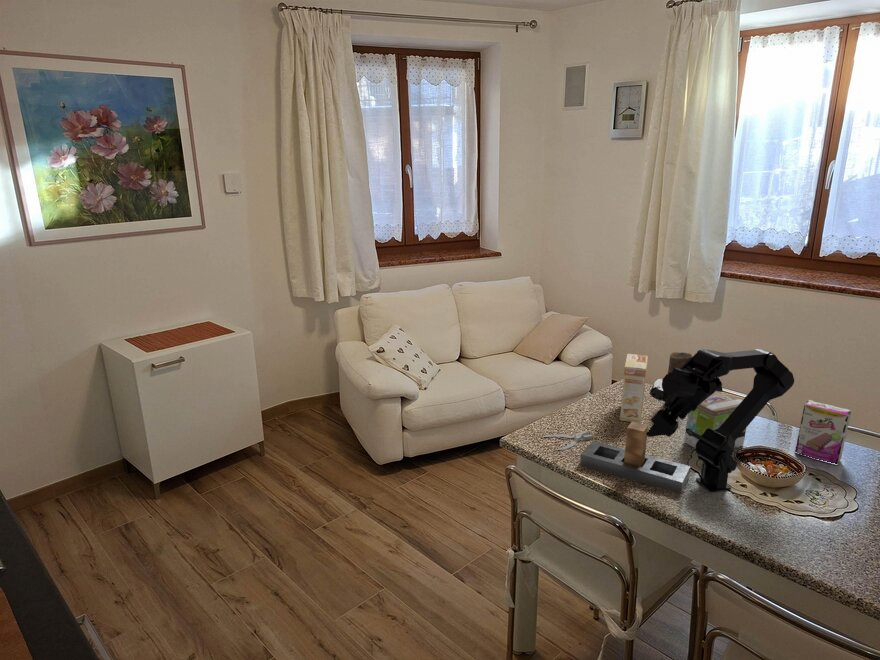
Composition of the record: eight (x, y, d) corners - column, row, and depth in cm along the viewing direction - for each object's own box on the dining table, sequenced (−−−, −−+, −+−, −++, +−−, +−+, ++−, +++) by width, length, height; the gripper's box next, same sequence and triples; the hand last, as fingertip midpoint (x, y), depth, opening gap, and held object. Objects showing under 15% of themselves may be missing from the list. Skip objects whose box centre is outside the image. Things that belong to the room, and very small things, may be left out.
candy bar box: (794, 454, 176) (803, 404, 172) (798, 448, 180) (807, 398, 175) (837, 467, 169) (848, 414, 164) (841, 460, 173) (852, 409, 168)
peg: (643, 470, 168) (648, 425, 164) (639, 476, 165) (643, 431, 161) (627, 465, 171) (631, 421, 167) (623, 472, 167) (627, 427, 163)
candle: (683, 412, 205) (689, 358, 199) (661, 408, 209) (667, 354, 203) (687, 405, 211) (694, 352, 206) (666, 400, 215) (672, 349, 209)
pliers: (541, 433, 188) (581, 426, 192) (540, 438, 188) (581, 431, 193) (557, 447, 179) (599, 439, 183) (556, 452, 179) (598, 444, 184)
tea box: (708, 456, 175) (715, 411, 171) (683, 442, 184) (688, 398, 180) (744, 446, 181) (751, 402, 177) (717, 433, 190) (723, 390, 186)
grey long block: (689, 477, 164) (690, 466, 163) (680, 494, 156) (682, 482, 155) (591, 451, 179) (592, 440, 178) (579, 465, 171) (580, 454, 170)
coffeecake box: (641, 423, 197) (646, 369, 192) (619, 420, 200) (623, 366, 194) (643, 406, 210) (648, 355, 205) (622, 403, 213) (627, 352, 207)
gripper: (679, 359, 159) (642, 392, 170) (655, 387, 146) (617, 421, 156) (712, 388, 157) (673, 420, 167) (691, 420, 143) (650, 452, 153)
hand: (653, 427), depth 161 cm, fingers open, 9 cm apart
